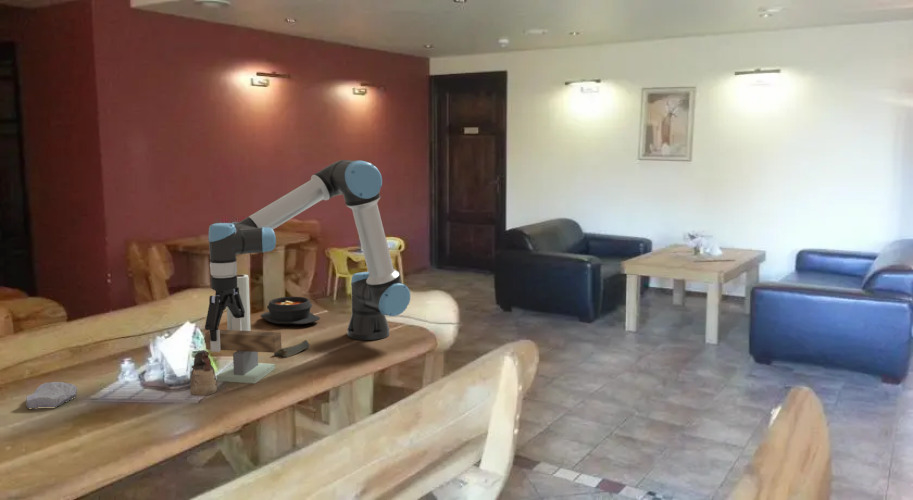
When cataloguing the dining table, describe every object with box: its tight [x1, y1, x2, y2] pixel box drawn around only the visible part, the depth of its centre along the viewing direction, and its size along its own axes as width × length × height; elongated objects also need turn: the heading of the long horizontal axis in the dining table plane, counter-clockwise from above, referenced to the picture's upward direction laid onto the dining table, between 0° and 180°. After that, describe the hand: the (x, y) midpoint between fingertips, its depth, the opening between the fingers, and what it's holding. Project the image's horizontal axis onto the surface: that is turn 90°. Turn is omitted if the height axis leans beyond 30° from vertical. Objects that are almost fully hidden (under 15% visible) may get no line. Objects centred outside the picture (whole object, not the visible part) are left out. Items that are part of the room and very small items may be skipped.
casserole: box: [260, 296, 321, 326], centre depth 285 cm, size 25×19×8 cm
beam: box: [204, 329, 282, 354], centre depth 222 cm, size 22×4×5 cm, turn 80°
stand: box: [215, 351, 276, 384], centre depth 223 cm, size 12×14×8 cm
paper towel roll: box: [226, 273, 252, 331], centre depth 267 cm, size 7×6×21 cm
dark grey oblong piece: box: [273, 339, 310, 359], centre depth 245 cm, size 13×5×4 cm, turn 135°
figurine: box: [189, 349, 218, 396], centre depth 208 cm, size 7×7×12 cm
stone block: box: [25, 381, 78, 409], centre depth 200 cm, size 12×5×10 cm
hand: (226, 344), depth 223 cm, fingers open, 13 cm apart
